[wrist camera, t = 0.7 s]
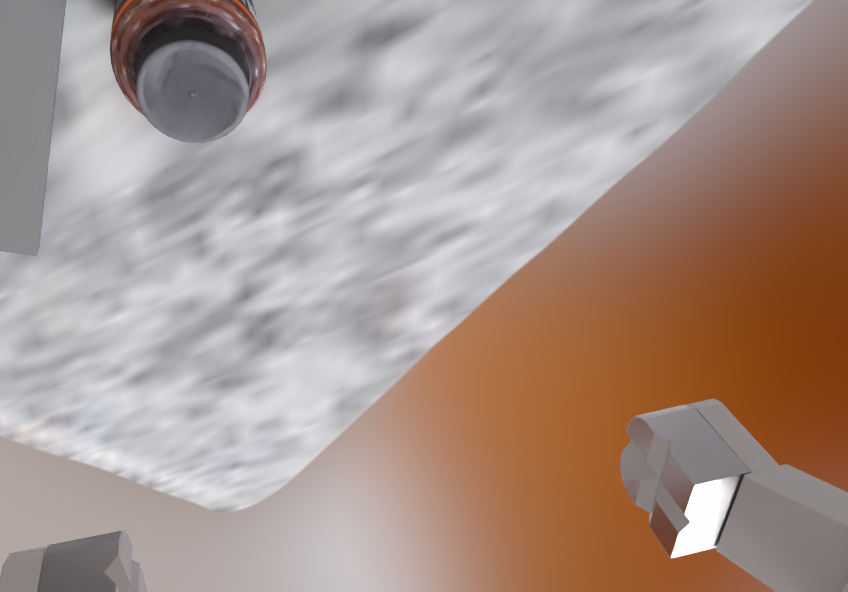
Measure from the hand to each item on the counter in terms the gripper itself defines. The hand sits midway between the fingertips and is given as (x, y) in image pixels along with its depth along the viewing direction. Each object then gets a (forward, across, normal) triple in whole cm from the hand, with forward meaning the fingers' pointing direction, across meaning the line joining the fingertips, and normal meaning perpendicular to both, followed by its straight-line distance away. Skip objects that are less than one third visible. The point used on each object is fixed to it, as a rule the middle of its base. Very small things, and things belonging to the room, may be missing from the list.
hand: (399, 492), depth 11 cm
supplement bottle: (+31, +3, -1) cm, 31 cm away
